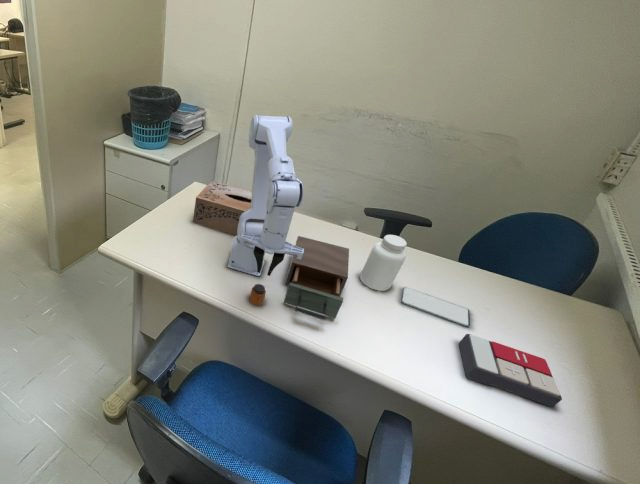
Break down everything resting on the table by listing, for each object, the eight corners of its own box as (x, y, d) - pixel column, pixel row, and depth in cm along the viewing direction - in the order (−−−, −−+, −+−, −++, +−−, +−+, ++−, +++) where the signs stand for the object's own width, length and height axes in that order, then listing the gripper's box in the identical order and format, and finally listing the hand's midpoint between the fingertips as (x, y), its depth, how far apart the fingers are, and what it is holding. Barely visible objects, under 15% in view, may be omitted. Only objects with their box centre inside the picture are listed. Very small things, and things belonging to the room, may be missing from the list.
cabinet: (338, 300, 107) (347, 277, 102) (285, 284, 112) (292, 262, 107) (340, 270, 117) (349, 248, 112) (291, 257, 122) (298, 235, 117)
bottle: (247, 302, 106) (251, 289, 103) (250, 294, 108) (254, 281, 106) (261, 307, 104) (265, 294, 102) (264, 298, 107) (267, 285, 104)
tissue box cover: (277, 224, 137) (284, 199, 132) (267, 245, 127) (273, 219, 121) (208, 204, 148) (211, 180, 143) (192, 222, 138) (196, 197, 132)
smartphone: (470, 326, 99) (401, 301, 106) (469, 327, 99) (400, 302, 106) (469, 309, 104) (403, 286, 111) (468, 311, 104) (403, 288, 111)
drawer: (334, 332, 96) (342, 314, 93) (280, 315, 101) (286, 296, 97) (337, 288, 109) (344, 270, 106) (289, 274, 114) (295, 257, 110)
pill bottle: (394, 293, 109) (417, 250, 101) (363, 289, 111) (383, 246, 102) (385, 275, 116) (405, 233, 107) (355, 271, 117) (374, 229, 109)
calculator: (566, 398, 79) (477, 365, 85) (551, 409, 82) (465, 377, 87) (548, 357, 87) (467, 330, 93) (535, 369, 90) (458, 342, 95)
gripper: (241, 228, 93) (232, 272, 100) (306, 244, 87) (292, 290, 95) (247, 214, 98) (238, 257, 105) (309, 228, 93) (295, 273, 100)
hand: (264, 271), depth 100 cm, fingers closed
